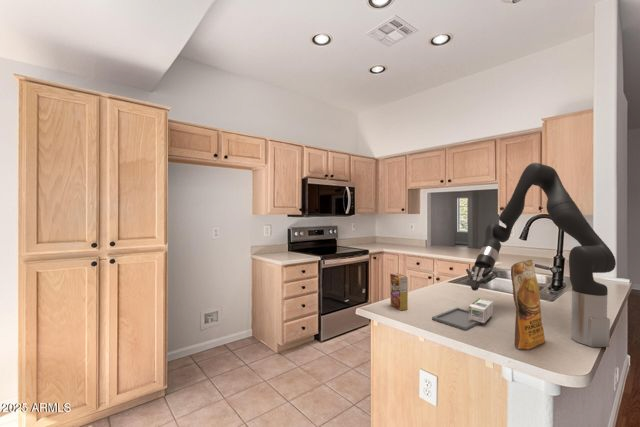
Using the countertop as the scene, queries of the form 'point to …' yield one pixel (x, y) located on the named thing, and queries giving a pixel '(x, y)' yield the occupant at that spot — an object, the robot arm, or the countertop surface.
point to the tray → (456, 319)
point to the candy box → (399, 291)
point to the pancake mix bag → (527, 306)
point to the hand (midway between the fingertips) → (473, 289)
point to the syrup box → (480, 310)
